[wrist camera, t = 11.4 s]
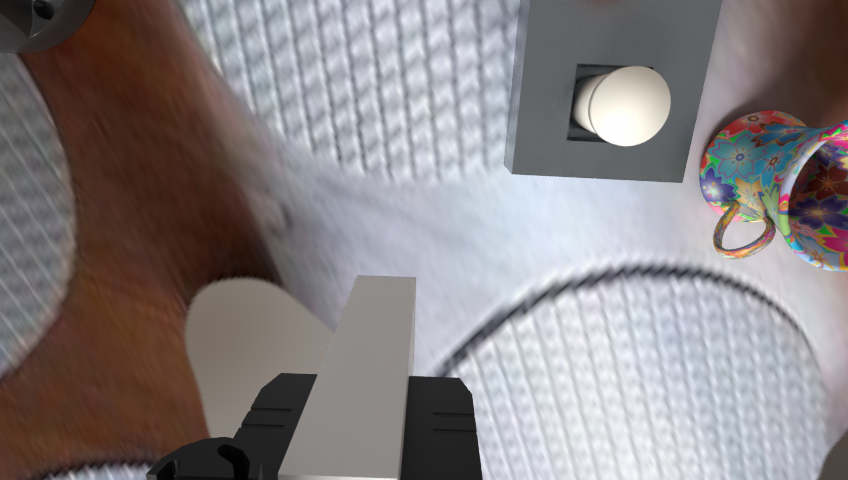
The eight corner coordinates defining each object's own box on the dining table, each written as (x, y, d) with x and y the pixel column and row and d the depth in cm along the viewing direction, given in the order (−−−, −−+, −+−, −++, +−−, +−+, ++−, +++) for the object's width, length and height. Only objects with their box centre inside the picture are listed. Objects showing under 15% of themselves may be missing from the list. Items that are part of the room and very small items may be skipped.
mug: (778, 77, 35) (918, 74, 25) (831, 176, 37) (980, 210, 27) (635, 177, 37) (710, 210, 27) (693, 264, 40) (781, 325, 29)
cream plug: (558, 133, 36) (586, 144, 29) (567, 68, 34) (598, 63, 28) (620, 136, 36) (662, 148, 29) (631, 71, 34) (678, 67, 28)
